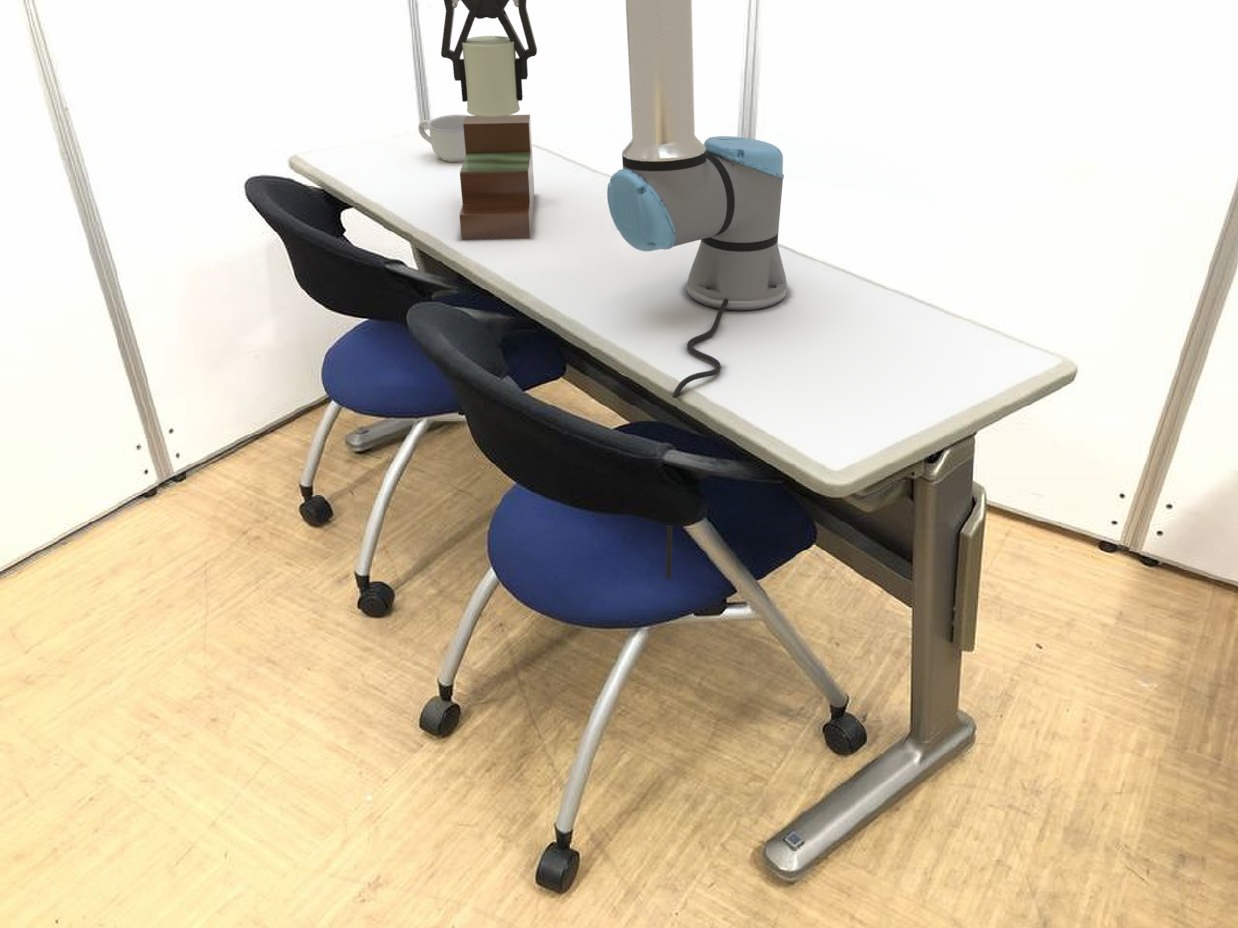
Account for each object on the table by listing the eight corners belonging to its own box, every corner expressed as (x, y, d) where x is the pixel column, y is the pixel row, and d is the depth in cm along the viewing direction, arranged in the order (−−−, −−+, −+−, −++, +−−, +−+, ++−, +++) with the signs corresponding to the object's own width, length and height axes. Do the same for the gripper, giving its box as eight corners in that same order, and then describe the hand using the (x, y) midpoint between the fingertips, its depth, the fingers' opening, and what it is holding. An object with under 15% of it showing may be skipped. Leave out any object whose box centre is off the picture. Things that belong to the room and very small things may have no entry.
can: (530, 109, 184) (526, 37, 177) (491, 119, 178) (486, 45, 172) (495, 101, 189) (490, 31, 183) (456, 111, 183) (449, 38, 177)
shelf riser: (530, 238, 184) (525, 150, 176) (461, 240, 184) (453, 151, 175) (534, 195, 204) (530, 114, 196) (472, 197, 204) (465, 116, 196)
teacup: (491, 155, 228) (489, 118, 224) (460, 168, 220) (456, 129, 216) (442, 147, 235) (439, 110, 230) (410, 159, 227) (405, 121, 223)
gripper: (549, -47, 174) (555, 93, 186) (419, -45, 173) (433, 95, 185) (548, -42, 168) (554, 103, 180) (413, -40, 167) (428, 105, 179)
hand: (492, 99), depth 182 cm, fingers closed on can, 9 cm apart
